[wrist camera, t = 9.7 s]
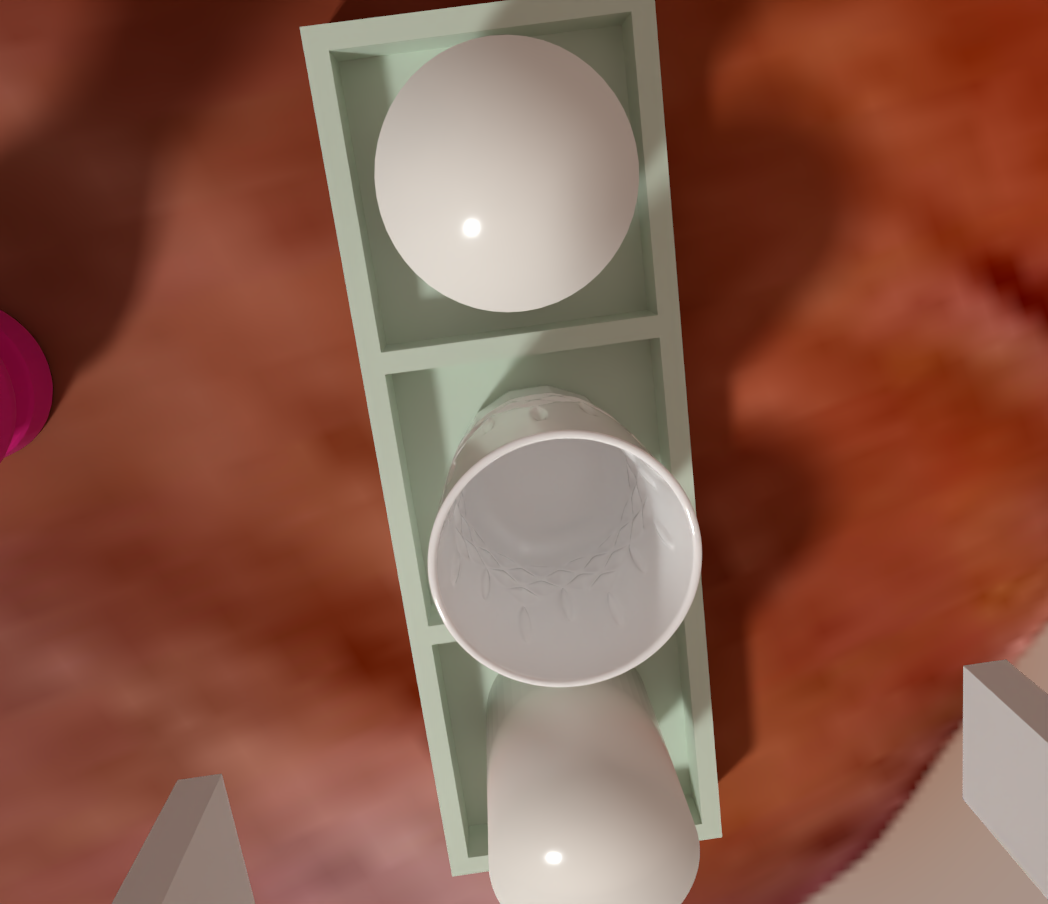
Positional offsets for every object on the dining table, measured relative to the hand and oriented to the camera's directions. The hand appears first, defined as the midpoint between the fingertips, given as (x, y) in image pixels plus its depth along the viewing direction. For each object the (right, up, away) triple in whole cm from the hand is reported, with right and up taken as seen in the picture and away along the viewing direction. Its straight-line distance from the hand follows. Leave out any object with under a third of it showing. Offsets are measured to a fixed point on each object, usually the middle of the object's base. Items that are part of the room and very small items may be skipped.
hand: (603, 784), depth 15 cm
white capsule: (0, -5, +22) cm, 23 cm away
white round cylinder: (-2, +15, +16) cm, 23 cm away
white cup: (-1, +5, +19) cm, 20 cm away
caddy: (-1, +5, +20) cm, 21 cm away
